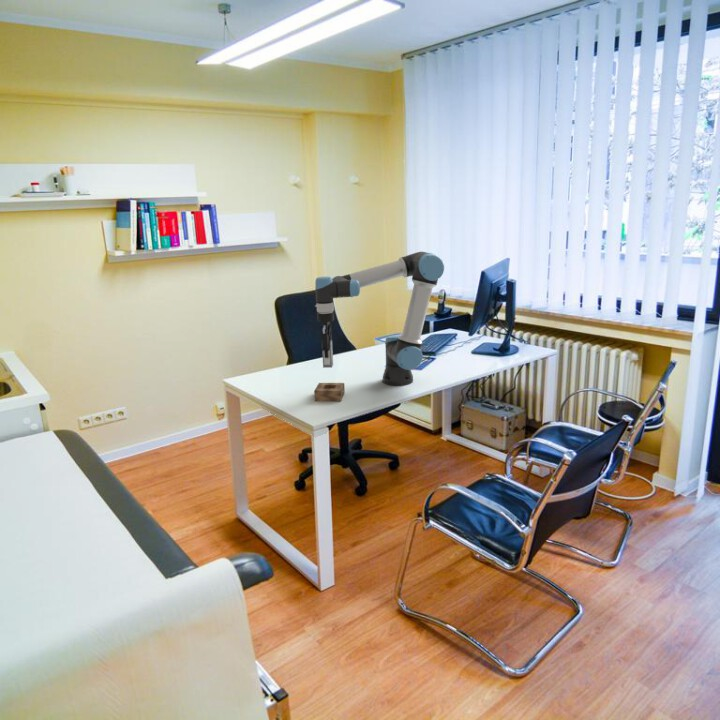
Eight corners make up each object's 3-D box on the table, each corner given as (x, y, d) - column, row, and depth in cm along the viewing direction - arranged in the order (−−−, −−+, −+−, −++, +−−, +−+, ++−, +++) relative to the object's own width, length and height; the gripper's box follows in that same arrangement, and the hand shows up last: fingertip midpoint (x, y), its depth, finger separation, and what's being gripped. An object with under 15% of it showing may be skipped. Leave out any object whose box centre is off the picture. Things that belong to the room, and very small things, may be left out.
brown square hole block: (344, 393, 275) (344, 382, 273) (341, 401, 263) (340, 390, 262) (319, 392, 276) (318, 382, 275) (314, 401, 265) (314, 390, 263)
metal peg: (333, 365, 268) (331, 339, 265) (331, 367, 264) (330, 341, 261) (324, 365, 268) (323, 339, 265) (323, 367, 264) (321, 341, 261)
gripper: (320, 308, 268) (323, 358, 274) (313, 315, 252) (316, 368, 258) (336, 308, 267) (339, 358, 273) (330, 315, 251) (333, 368, 257)
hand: (328, 362), depth 266 cm, fingers closed on metal peg, 4 cm apart
